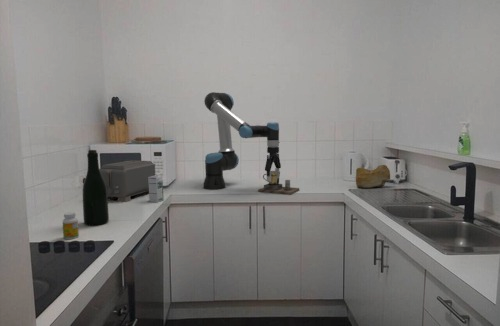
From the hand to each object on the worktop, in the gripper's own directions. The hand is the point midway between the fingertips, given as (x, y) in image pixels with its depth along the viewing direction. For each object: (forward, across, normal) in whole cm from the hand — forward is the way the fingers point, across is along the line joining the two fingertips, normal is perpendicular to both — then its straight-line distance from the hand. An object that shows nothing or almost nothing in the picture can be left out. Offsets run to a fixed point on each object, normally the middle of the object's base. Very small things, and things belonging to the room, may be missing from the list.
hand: (273, 179), depth 237 cm
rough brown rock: (+8, +41, -54) cm, 68 cm away
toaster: (+8, -53, +74) cm, 91 cm away
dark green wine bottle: (+7, -103, +42) cm, 111 cm away
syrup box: (+7, -56, +48) cm, 74 cm away
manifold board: (+7, 0, -4) cm, 8 cm away
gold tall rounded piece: (+6, 0, 0) cm, 6 cm away
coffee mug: (+7, +16, +8) cm, 19 cm away
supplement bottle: (+7, -122, +34) cm, 127 cm away
